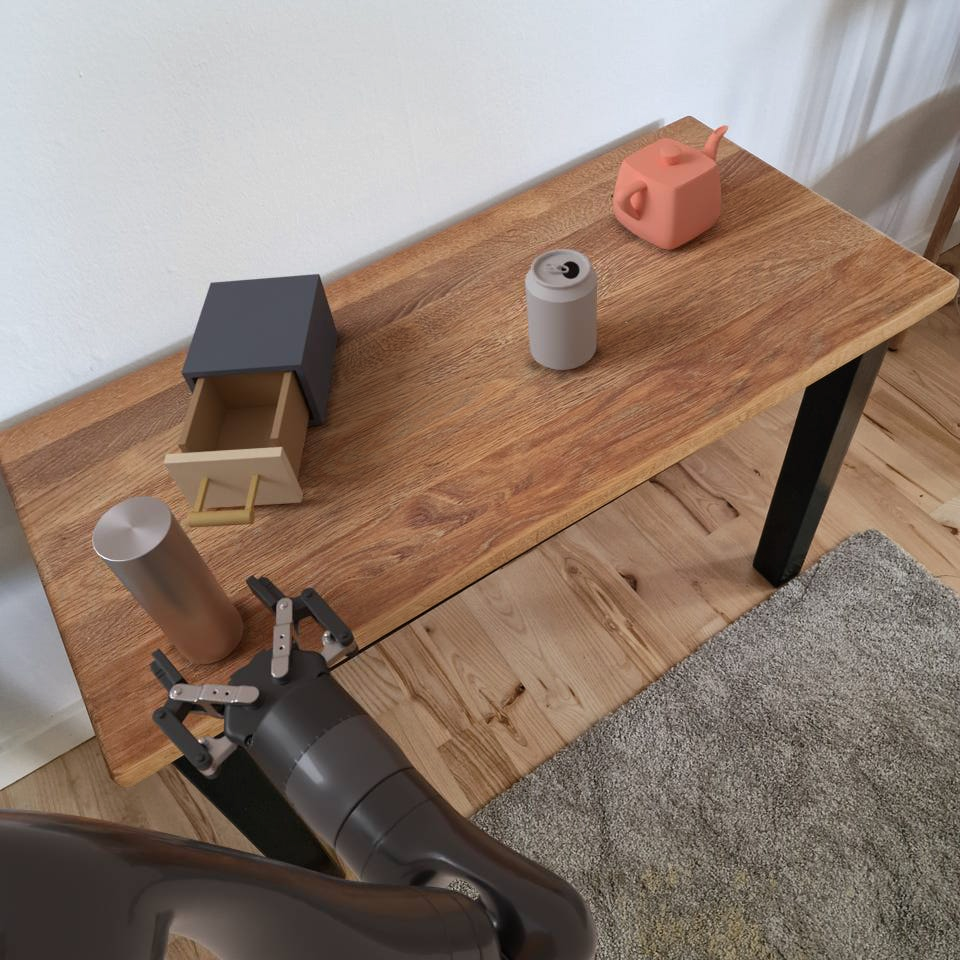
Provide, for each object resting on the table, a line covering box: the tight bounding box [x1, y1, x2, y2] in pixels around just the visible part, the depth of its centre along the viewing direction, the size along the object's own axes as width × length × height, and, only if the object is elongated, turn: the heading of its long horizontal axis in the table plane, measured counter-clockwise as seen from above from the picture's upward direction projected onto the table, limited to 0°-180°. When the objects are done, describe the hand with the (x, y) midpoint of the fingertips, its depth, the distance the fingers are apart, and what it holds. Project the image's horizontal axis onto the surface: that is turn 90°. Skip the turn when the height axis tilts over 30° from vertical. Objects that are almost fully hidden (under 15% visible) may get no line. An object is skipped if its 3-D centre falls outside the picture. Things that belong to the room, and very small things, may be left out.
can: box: [524, 248, 598, 371], centre depth 89 cm, size 8×8×12 cm
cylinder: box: [91, 495, 245, 665], centre depth 69 cm, size 6×6×17 cm
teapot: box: [612, 124, 729, 251], centre depth 103 cm, size 12×18×10 cm, turn 126°
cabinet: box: [180, 273, 339, 427], centre depth 92 cm, size 15×13×9 cm
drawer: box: [163, 370, 310, 529], centre depth 83 cm, size 19×11×7 cm, turn 0°
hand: (206, 618), depth 64 cm, fingers open, 8 cm apart
